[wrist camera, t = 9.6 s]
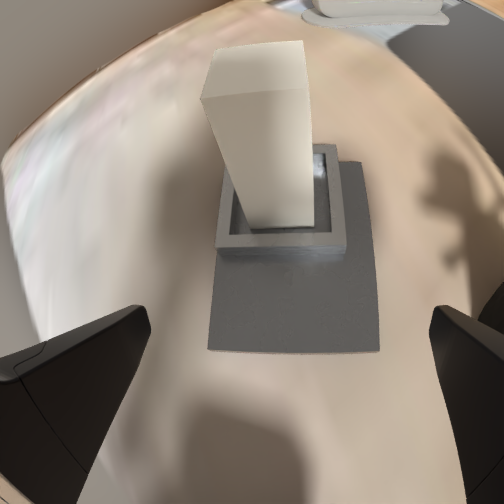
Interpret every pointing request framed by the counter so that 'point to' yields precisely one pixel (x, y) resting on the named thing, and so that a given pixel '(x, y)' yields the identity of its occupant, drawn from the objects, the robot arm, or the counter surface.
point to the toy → (494, 311)
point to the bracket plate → (298, 272)
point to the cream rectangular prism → (264, 130)
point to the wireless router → (374, 13)
